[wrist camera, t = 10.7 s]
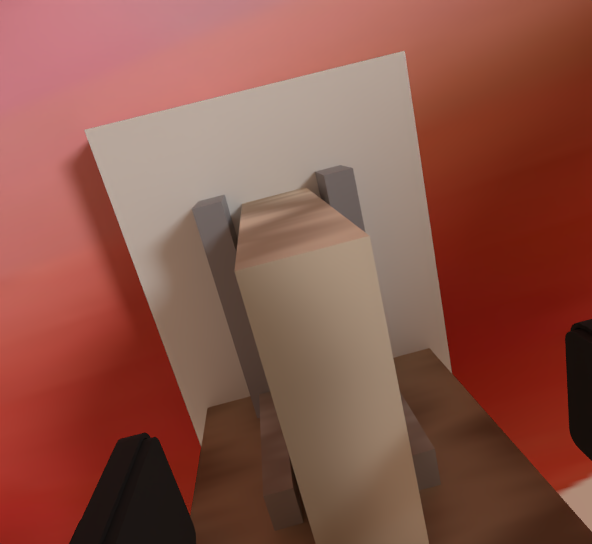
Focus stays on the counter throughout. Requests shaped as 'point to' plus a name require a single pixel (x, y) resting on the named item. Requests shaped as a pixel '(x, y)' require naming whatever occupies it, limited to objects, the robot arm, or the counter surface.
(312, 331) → the beige rectangular block
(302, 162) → the white tile with rails
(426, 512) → the cabinet side
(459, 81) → the counter surface
